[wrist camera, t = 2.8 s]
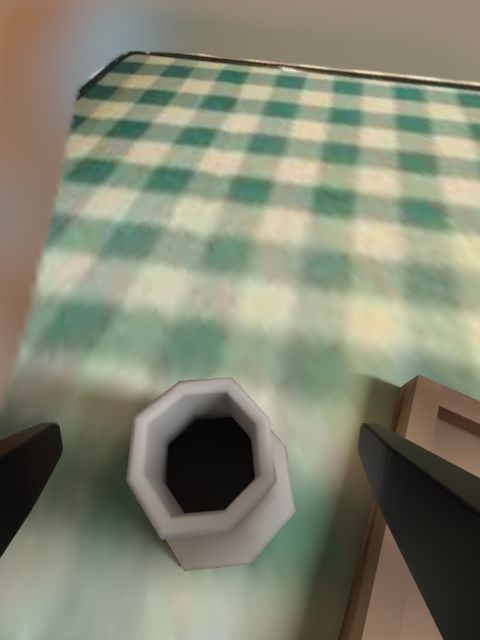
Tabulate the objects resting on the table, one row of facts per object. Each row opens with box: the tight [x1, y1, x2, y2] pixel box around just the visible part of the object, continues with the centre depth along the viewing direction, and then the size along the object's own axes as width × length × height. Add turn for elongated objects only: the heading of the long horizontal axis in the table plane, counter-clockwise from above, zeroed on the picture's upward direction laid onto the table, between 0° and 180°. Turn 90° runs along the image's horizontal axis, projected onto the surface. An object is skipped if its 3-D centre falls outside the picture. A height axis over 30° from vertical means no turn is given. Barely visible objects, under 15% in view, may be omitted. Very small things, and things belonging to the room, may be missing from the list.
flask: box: [126, 377, 296, 571], centre depth 10 cm, size 7×7×10 cm
